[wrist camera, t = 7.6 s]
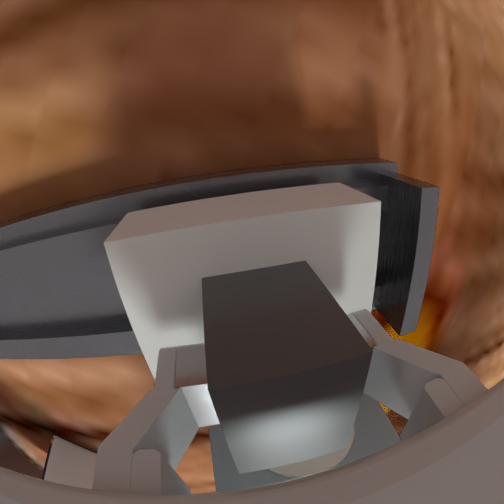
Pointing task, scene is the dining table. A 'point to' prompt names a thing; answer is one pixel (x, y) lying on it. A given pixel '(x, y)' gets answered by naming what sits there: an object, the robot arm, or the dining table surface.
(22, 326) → the rail
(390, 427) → the gauge cabinet
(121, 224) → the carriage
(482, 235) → the dining table surface
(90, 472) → the medicine bottle
